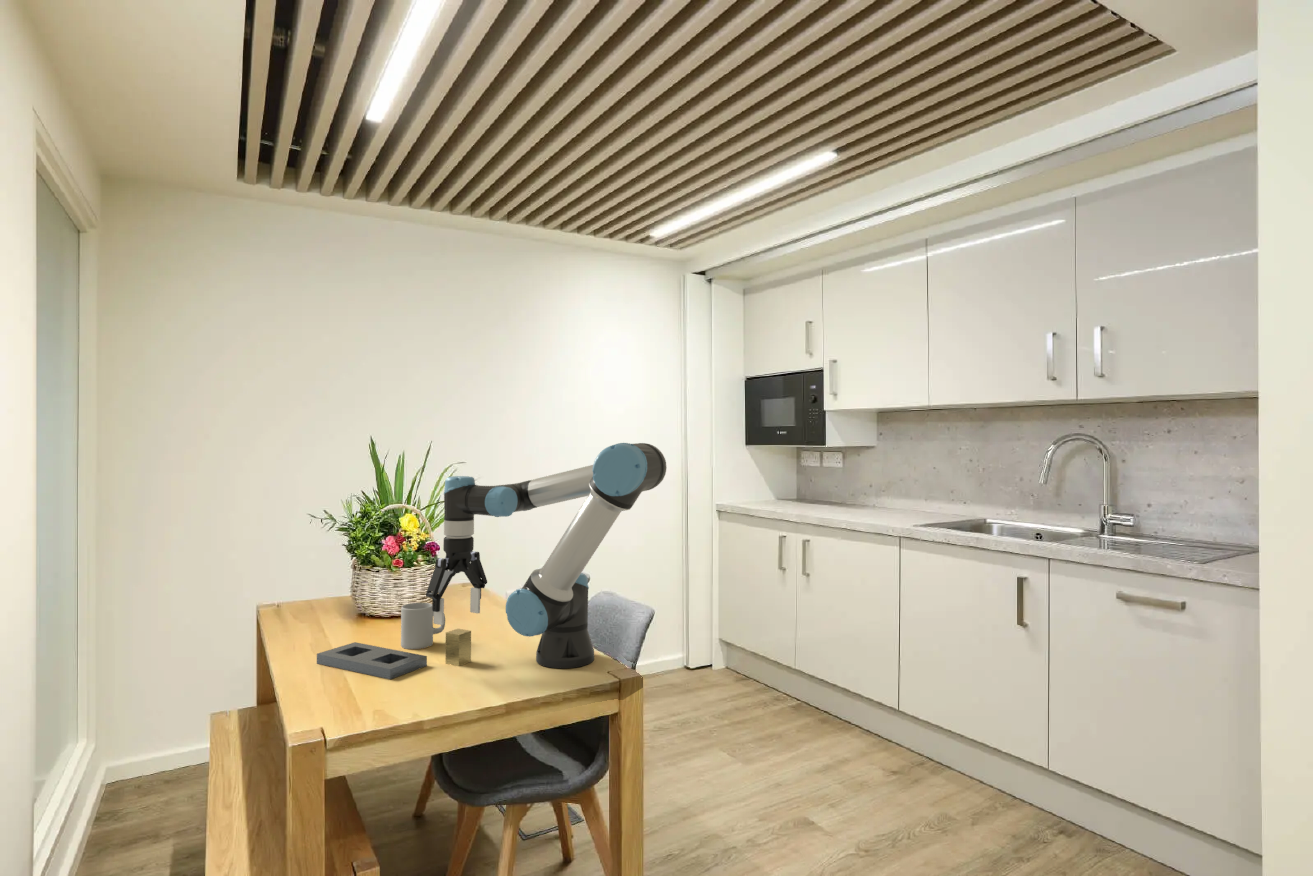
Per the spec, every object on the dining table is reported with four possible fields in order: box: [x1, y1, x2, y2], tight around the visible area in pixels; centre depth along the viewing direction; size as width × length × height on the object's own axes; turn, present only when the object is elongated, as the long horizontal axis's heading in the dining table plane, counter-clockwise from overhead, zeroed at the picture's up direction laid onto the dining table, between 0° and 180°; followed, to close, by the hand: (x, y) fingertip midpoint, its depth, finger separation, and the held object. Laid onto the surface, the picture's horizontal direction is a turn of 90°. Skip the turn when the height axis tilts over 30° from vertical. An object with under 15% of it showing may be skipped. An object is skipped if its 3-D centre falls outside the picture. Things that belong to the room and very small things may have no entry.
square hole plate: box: [316, 642, 428, 680], centre depth 192 cm, size 26×12×2 cm, turn 63°
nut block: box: [445, 628, 472, 667], centre depth 194 cm, size 4×4×8 cm
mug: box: [400, 602, 446, 650], centre depth 210 cm, size 12×8×11 cm
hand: (457, 618), depth 194 cm, fingers open, 13 cm apart
